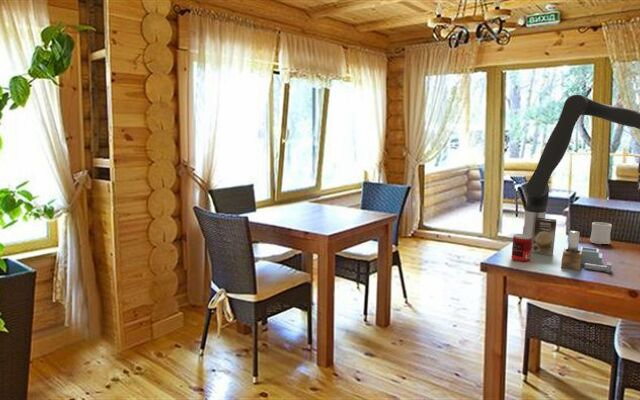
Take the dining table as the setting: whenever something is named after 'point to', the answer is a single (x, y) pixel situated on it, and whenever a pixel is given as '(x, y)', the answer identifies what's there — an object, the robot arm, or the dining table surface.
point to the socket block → (571, 260)
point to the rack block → (591, 256)
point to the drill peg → (573, 241)
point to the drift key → (599, 267)
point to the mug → (600, 233)
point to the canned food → (521, 247)
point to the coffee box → (544, 236)
